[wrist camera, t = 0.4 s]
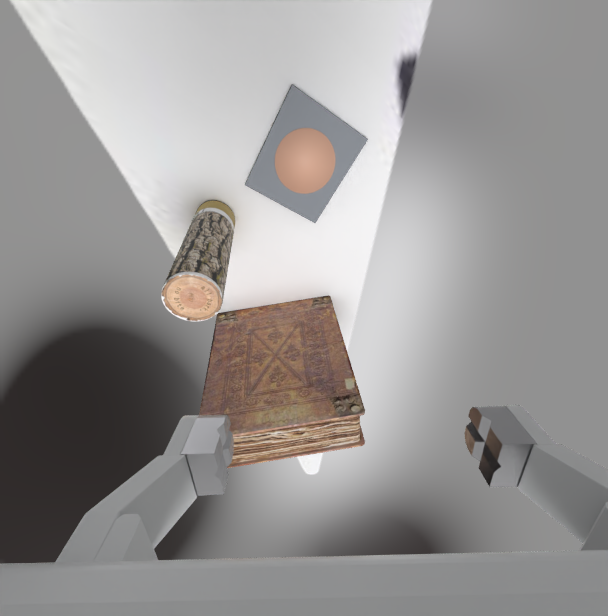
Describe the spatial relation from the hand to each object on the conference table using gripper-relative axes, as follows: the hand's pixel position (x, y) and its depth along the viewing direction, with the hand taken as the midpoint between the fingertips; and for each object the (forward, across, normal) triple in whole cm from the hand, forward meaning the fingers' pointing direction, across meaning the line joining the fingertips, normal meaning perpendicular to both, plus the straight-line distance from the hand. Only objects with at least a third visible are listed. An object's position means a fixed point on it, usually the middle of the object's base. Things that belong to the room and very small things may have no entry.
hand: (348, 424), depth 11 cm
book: (+56, +9, +25) cm, 62 cm away
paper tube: (+50, +17, 0) cm, 53 cm away
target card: (+50, +1, -8) cm, 50 cm away
